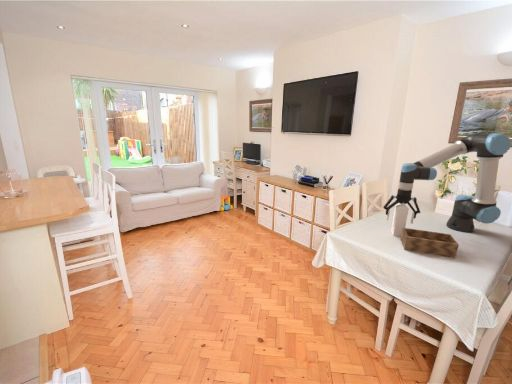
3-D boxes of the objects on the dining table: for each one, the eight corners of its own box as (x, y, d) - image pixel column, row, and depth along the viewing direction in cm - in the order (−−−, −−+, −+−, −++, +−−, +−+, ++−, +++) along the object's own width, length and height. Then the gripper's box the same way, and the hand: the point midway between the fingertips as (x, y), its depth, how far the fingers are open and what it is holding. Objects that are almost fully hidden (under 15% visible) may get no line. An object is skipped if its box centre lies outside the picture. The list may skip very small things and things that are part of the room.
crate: (447, 247, 147) (450, 234, 145) (455, 258, 135) (458, 244, 133) (400, 239, 156) (402, 227, 154) (404, 249, 143) (406, 236, 141)
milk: (393, 235, 161) (398, 202, 155) (390, 232, 167) (395, 200, 161) (403, 236, 160) (409, 203, 154) (400, 233, 165) (406, 200, 160)
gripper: (427, 189, 154) (420, 222, 160) (382, 185, 163) (377, 216, 169) (430, 192, 148) (423, 226, 153) (383, 188, 156) (378, 220, 162)
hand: (399, 221), depth 161 cm, fingers open, 13 cm apart
